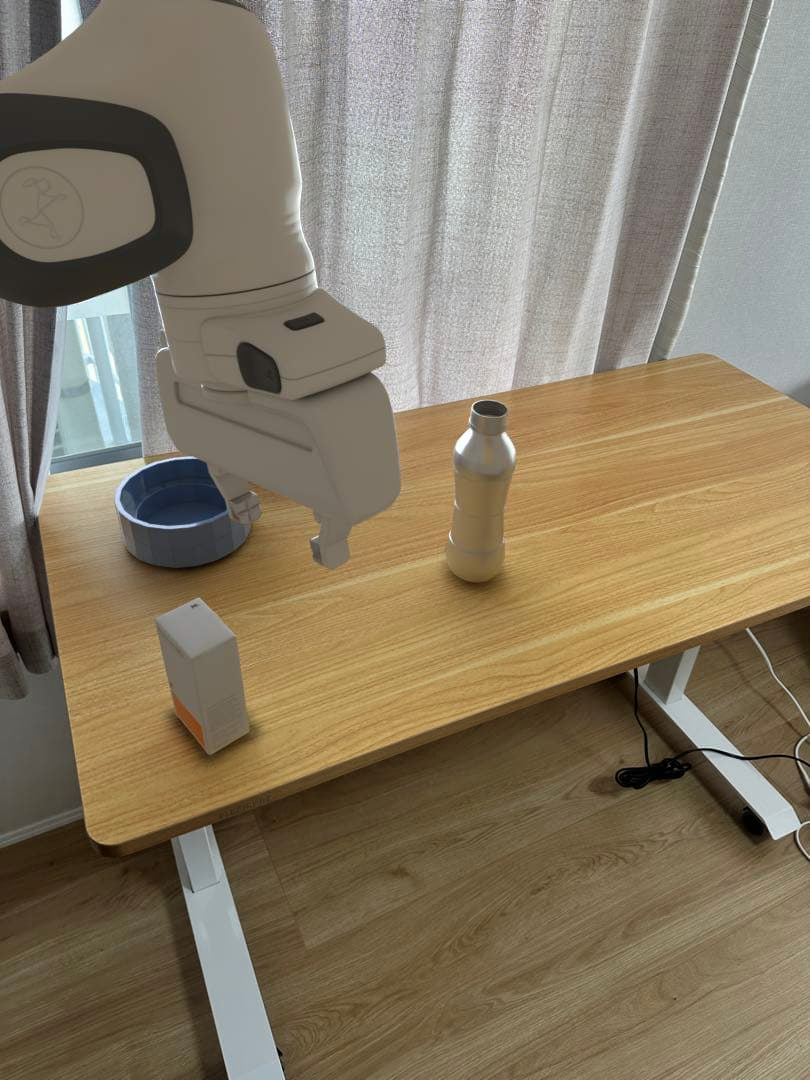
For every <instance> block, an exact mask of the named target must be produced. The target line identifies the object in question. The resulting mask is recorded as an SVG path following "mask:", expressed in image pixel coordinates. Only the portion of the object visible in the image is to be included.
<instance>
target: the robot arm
mask: <svg viewBox="0 0 810 1080" xmlns="http://www.w3.org/2000/svg"><path fill="white" fill-rule="evenodd" d="M279 65H280V64H279V61H278V58H277V55H276V52H275V49H274V46H273V44H272V41H271V39H270V36H269V34H268V31H267V29H266V28H265V26H264V24H263V23H262V21H261V20H260V19H259V18H258V17H257V15H256V14H254V13H252V11H251V10H249V8H248V7H246V6H245V5H243V4H242V3H241V2H239V1H236V0H100V1H99V3H98V5H97V6H96V7H95V8H94V10H93V11H92V12H91V13H90V14H89V16H88V17H87V18H86V19H84V21H83V22H82V23H80V25H78V27H76V28H75V29H74V31H72V32H71V33H70V34H69V35H68V36H66V37H65V38H63V39H62V40H61V41H60V42H59V43H58V44H56V45H55V46H54V47H52V48H51V49H50V50H48V51H47V52H45V53H44V54H43V55H41V56H40V57H37V59H35V60H34V61H32V62H30V63H29V64H28V65H26V66H25V67H22V68H21V69H19V70H17V71H16V72H13V73H12V74H10V75H8V76H7V77H5V78H3V79H0V299H2V300H5V301H7V302H9V303H14V304H17V305H20V306H26V307H33V308H62V307H70V306H75V305H79V304H82V303H85V302H88V301H90V300H93V299H95V298H97V297H100V296H102V295H106V294H109V293H111V292H113V291H116V290H119V289H121V288H124V287H127V286H129V285H132V284H134V283H137V282H140V281H141V280H144V279H146V278H149V277H150V279H151V282H152V286H153V289H154V294H155V298H156V303H157V306H158V310H159V315H160V318H161V322H162V326H161V329H159V332H158V335H159V342H160V345H161V348H160V349H159V350H158V351H157V353H156V354H155V361H154V364H155V365H154V366H155V376H156V383H157V388H158V395H159V400H160V406H161V410H162V415H163V419H164V420H163V421H164V425H165V428H166V432H167V434H168V437H169V438H170V440H171V442H172V444H173V445H174V447H175V449H176V450H178V451H180V452H181V453H184V454H185V455H188V456H189V457H190V456H193V457H195V458H197V459H199V460H202V461H204V462H206V463H207V467H208V471H209V474H210V476H211V477H212V479H213V481H214V482H215V484H216V486H217V487H218V489H219V491H220V493H221V494H222V496H223V498H225V502H226V506H227V510H228V515H229V517H230V519H232V520H234V521H236V522H238V523H240V524H242V525H248V524H250V522H251V523H252V522H256V521H259V519H260V518H261V517H262V511H263V510H262V508H261V506H260V503H261V502H260V497H259V494H258V493H256V492H253V491H252V488H251V486H250V483H251V484H253V485H255V486H258V487H260V488H262V489H264V490H267V491H269V492H270V493H274V494H276V495H278V496H280V497H282V498H285V499H287V500H288V501H291V502H294V503H296V504H298V505H301V506H303V507H305V508H307V509H310V510H312V513H313V519H314V521H315V522H316V523H318V524H320V529H319V534H318V535H317V536H315V537H313V538H311V539H309V546H310V550H311V552H312V555H311V556H312V561H314V562H315V563H316V564H318V565H320V566H322V567H324V568H325V569H327V570H331V571H334V570H335V569H337V568H339V567H341V566H343V565H344V564H345V565H346V563H347V562H348V561H349V559H350V556H351V554H350V547H349V540H348V539H349V538H348V536H350V535H349V534H350V532H351V529H352V527H354V526H357V525H361V524H362V523H364V522H366V521H369V520H370V519H372V518H374V517H376V516H378V515H379V514H382V513H384V512H386V511H387V510H389V509H390V508H391V507H393V505H394V504H395V502H396V501H397V499H398V498H399V496H400V493H401V489H402V469H401V460H400V459H401V458H400V457H401V456H400V450H399V449H400V448H399V440H398V434H397V425H396V420H395V413H394V409H393V404H392V401H391V397H390V395H389V391H388V390H387V388H386V386H385V384H384V383H383V381H382V380H381V379H380V378H379V376H378V375H376V373H374V371H375V370H378V369H380V368H382V367H383V366H385V365H386V363H387V356H388V355H387V344H386V340H385V336H384V333H383V332H382V331H381V330H380V329H379V327H377V326H376V325H375V324H374V323H372V322H370V321H368V320H367V319H365V318H364V317H362V316H361V315H359V314H358V313H356V312H355V311H353V310H352V309H350V308H349V307H347V306H345V304H343V303H342V302H341V301H339V300H338V299H337V298H336V297H334V295H333V294H331V293H330V292H329V291H328V290H327V289H326V288H324V287H319V286H318V280H317V273H316V267H315V266H316V265H315V261H314V257H313V254H312V251H311V249H310V247H309V244H308V243H307V240H306V238H305V235H304V230H303V227H302V222H301V199H302V190H303V179H302V171H301V165H300V159H299V153H298V147H297V142H296V136H295V131H294V125H293V120H292V115H291V110H290V105H289V102H288V97H287V93H286V88H285V84H284V80H283V76H282V72H281V67H280V66H279Z"/></svg>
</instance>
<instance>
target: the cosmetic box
mask: <svg viewBox="0 0 810 1080" xmlns="http://www.w3.org/2000/svg"><path fill="white" fill-rule="evenodd" d="M154 622H155V628H156V630H157V632H156V633H157V637H158V641H159V646H160V649H161V655H162V658H163V663H164V668H165V674H166V677H167V681H168V686H169V691H170V696H171V701H172V704H173V708H174V714H175V716H177V718H178V719H179V720H180V721H181V722H182V724H183V725H184V726H185V727H186V728H187V729H188V731H189V732H190V734H191V735H192V736H193V737H194V739H195V740H196V741H197V743H199V745H200V746H201V747H202V749H203V750H204V751H205V753H206V754H207V755H208V756H212V755H214V754H215V753H217V752H219V751H220V750H222V749H223V748H225V747H227V746H228V745H230V744H232V743H233V742H235V741H237V740H238V739H240V738H242V737H243V736H245V735H247V734H249V733H250V723H249V716H248V709H247V703H246V696H245V687H244V681H243V673H242V667H241V660H240V653H239V645H238V638H237V634H235V633H234V632H233V631H232V629H230V628H229V626H227V624H226V623H224V621H223V619H221V617H220V615H218V614H217V613H216V612H215V611H213V609H211V608H210V607H209V605H208V604H206V603H205V601H204V600H203V599H202V598H201V597H196V598H194V599H192V600H190V601H188V602H186V603H183V604H181V605H180V606H177V607H176V608H173V609H170V610H169V611H167V612H164V613H163V614H161V615H159V616H157V617H156V618H154Z"/></svg>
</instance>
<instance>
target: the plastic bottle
mask: <svg viewBox="0 0 810 1080" xmlns="http://www.w3.org/2000/svg"><path fill="white" fill-rule="evenodd" d="M509 410H510V409H509V408H508V405H506V404H505V403H503V402H501V401H498V400H495V399H480V400H477V401H475V402H473V403H472V405H471V407H470V416H469V417H468V427H469V428H468V429H467V430H466V431H465V432H464V433H463V434H462V435H461V436H460V437H459V438H458V440H457V441H456V442H455V445H454V448H453V450H452V468H453V480H454V509H453V513H452V514H453V515H452V520H451V526H450V531H449V533H448V535H447V539H446V542H445V547H444V549H445V550H444V552H445V560H446V564H447V566H448V569H449V570H450V571H451V572H452V573H453V574H454V576H456V577H457V578H459V579H460V580H462V581H466V582H469V583H483V582H484V583H485V582H488V581H490V580H491V579H493V578H494V577H496V576H497V575H498V574H499V573H500V572H501V570H502V567H503V565H504V561H505V559H506V541H505V537H504V536H505V534H504V533H505V532H504V531H505V530H504V529H505V528H504V527H505V512H506V505H507V501H508V497H509V491H510V487H511V484H512V481H513V478H514V477H513V476H514V474H515V470H516V466H517V462H518V456H517V451H516V448H515V446H514V444H513V441H512V439H511V438H510V437H509V435H508V433H507V432H506V431H507V430H508V428H509V414H510V412H509Z"/></svg>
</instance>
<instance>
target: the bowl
mask: <svg viewBox="0 0 810 1080" xmlns="http://www.w3.org/2000/svg"><path fill="white" fill-rule="evenodd" d="M113 503H114V508H115V512H116V516H117V520H118V525H119V528H120V534H121V537H122V538H121V539H122V541H123V543H124V546H125V549H126V550H127V551H128V552H129V553H130V554H131V555H132V556H134V557H135V558H136V559H137V560H139V561H142V562H145V563H148V564H149V565H152V566H158V567H166V568H174V569H175V568H176V569H178V568H189V567H199V566H202V565H205V564H209V563H212V562H216V561H218V560H220V559H222V558H225V557H226V556H228V555H230V554H232V553H233V552H235V551H236V550H237V549H238V548H240V546H242V544H243V543H244V542H246V540H247V539H248V536H249V534H250V532H251V530H252V522H250V524H248V525H242V524H240V523H238V522H236V521H234V520H232V519H230V517H229V515H228V510H227V506H226V502H225V498H223V496H222V494H221V493H220V491H219V489H218V487H217V486H216V484H215V482H214V481H213V479H212V477H211V476H210V474H209V471H208V467H207V463H206V462H204V461H202V460H199V459H197V458H195V457H193V456H190V455H189V456H178V457H170V458H166V459H162V460H157V461H154V462H151V463H149V464H147V465H144V466H142V467H140V468H137V469H136V470H134V471H133V472H132V473H130V474H129V475H127V476H125V477H124V478H123V480H122V481H121V482H120V483H119V485H118V486H117V488H116V490H115V494H114V498H113Z"/></svg>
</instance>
